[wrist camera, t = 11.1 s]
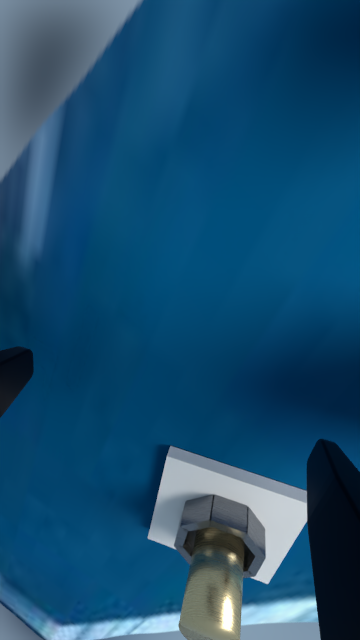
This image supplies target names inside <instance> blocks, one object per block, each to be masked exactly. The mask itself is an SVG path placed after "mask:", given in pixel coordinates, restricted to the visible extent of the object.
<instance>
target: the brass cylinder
mask: <svg viewBox="0 0 360 640" xmlns="http://www.w3.org/2000/svg"><path fill="white" fill-rule="evenodd" d="M244 543H245V542H244V541H243V540H242V539H241V537H238V536H235V535H233V534H230V533H227V532H224V531H222V530H219V529H216V528H213V527H209V528H203V529H198V530H197V531H196V536H195V542H194V547H193V552H192V558H191V563H190V568H189V574H188V579H187V584H186V589H185V595H184V600H183V605H182V611H181V616H180V621H179V629H180V631H181V633H182V634H183V636H184V637H186V638H187V639H188V640H240V627H241V606H242V585H243V564H244Z"/></svg>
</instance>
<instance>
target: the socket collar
mask: <svg viewBox="0 0 360 640" xmlns="http://www.w3.org/2000/svg"><path fill="white" fill-rule="evenodd" d="M209 527H213V528H216V529H219V530H222V531H224V532H227V533H230V534H233V535H235V536H238V537H241V539H242V540H243V541H244V542H245V544H244V564H243V578H247V577H254V576H256V574H257V573H258V571H259V569H260V567H261V566H262V564H263V562H264V560H265V559H266V545H265V528H264V526H263V525H262V524H261V522H260V521H259V520H258V518H257V517H256V516H255V514H254V513H253V512H252V510H251V509H250V508H249V506H248V507H247V505H244V504H241V503H239V502H236V501H233V500H230V499H227V498H224V497H221V496H218V495H216V494H215V495H214V494H211V495H207V496H203V497H199V498H195V499H191V500H187V501H185V505H184V508H183V511H182V515H181V518H180V522H179V526H178V530H177V534H176V538H175V543H174V547H175V548H176V549H177V550H178V551H179V553H180V554H181V555H182V556H183V557H184V558H185V560H186V561H187V562H188V563H189V564H190V563H191V558H192V552H193V547H194V542H195V536H196V530H198V529H203V528H209Z"/></svg>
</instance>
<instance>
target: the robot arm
mask: <svg viewBox="0 0 360 640" xmlns="http://www.w3.org/2000/svg"><path fill="white" fill-rule="evenodd" d="M33 370H34V369H33V353H32V351H31V350H30V349H27V348H24V347H14V348H10V349H6V350H2V351H0V417H1V416H2V415H3V414H4V412H5V411H6V410H7V409H8V407H9V406H10V405H11V403H12V402H13V401H14V400H15V398H16V397H17V396H18V394H19V393H20V392H21V390H22V389H23V388H24V386H25V385H26V384H27V383H28V381H29V380H30V379H31V377H32V375H33ZM307 524H308V534H309V543H310V551H311V560H312V568H313V577H314V586H315V594H316V603H317V611H318V620H319V627H320V637H321V640H360V472H359V471H358V469H357V468H356V467H355V466H354V465H353V463H352V462H351V461H350V460H349V459H348V457H347V456H346V455H345V454H344V453H343V451H342V450H341V449H340V448H339V447H338V445H337V444H336V443H334V442H331V441H328V440H324V439H319V440H318V441H317V443H316V445H315V447H314V448H313V450H312V452H311V454H310V456H309V458H308V461H307Z"/></svg>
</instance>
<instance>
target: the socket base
mask: <svg viewBox="0 0 360 640" xmlns="http://www.w3.org/2000/svg"><path fill="white" fill-rule="evenodd" d="M211 494H214V495H215V494H216V495H218V496H221V497H224V498H227V499H230V500H233V501H236V502H239V503H241V504H244V505H247V507H248V506H249V508H250V509H251V510H252V512H253V513H254V514H255V516H256V517H257V518H258V520H259V521H260V522H261V524H262V525H263V526H264V528H265V545H266V559H265V560H264V562H263V564H262V566H261V567H260V569H259V571H258V573H257V574H256V576H254V577H250V578H253V579H256V580H258V581H261V582H264V583H266V584H268V583H269V581H270V580H271V578H272V577H273V575H274V573H275V572H276V570H277V568H278V567H279V565H280V564H281V562H282V560H283V559H284V557H285V555H286V554H287V552H288V551H289V549H290V547H291V546H292V544H293V543H294V541H295V539H296V538H297V536H298V534H299V533H300V531H301V530H302V528H303V526H304V525H305V523H306V522H307V491H305V490H302V489H299V488H296V487H293V486H290V485H287V484H284V483H281V482H278V481H275V480H272V479H269V478H266V477H263V476H260V475H257V474H254V473H251V472H248V471H245V470H242V469H239V468H236V467H233V466H230V465H227V464H224V463H221V462H218V461H215V460H212V459H209V458H206V457H203V456H200V455H197V454H194V453H191V452H188V451H185V450H182V449H179V448H176V447H173V446H170V448H169V451H168V454H167V458H166V462H165V466H164V471H163V475H162V479H161V483H160V488H159V492H158V496H157V500H156V505H155V509H154V513H153V517H152V522H151V526H150V530H149V535H148V539H150V540H153V541H156V542H158V543H161V544H164V545H166V546H169V547H171V548H174V549H176V548H175V547H174V543H175V538H176V534H177V530H178V526H179V522H180V518H181V515H182V511H183V508H184V505H185V501H187V500H191V499H195V498H199V497H203V496H207V495H211ZM196 531H197V530H196ZM244 544H245V543H244Z"/></svg>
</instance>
